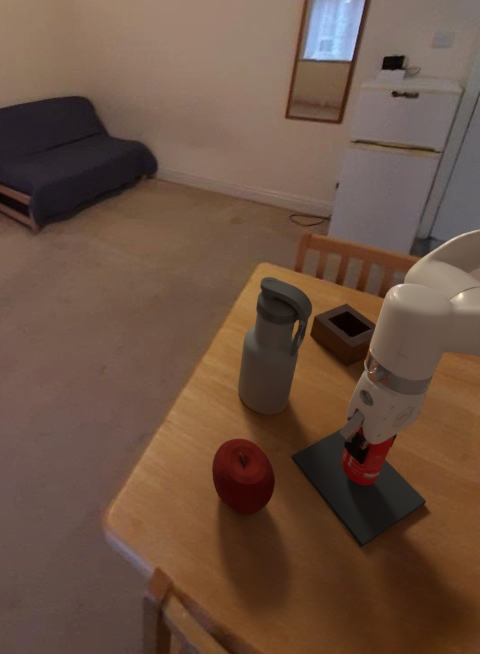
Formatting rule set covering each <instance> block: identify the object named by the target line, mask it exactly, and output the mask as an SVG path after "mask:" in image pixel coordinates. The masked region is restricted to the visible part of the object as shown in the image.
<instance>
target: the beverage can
mask: <svg viewBox="0 0 480 654" xmlns="http://www.w3.org/2000/svg"><path fill="white" fill-rule="evenodd" d="M357 432H358V433H359V434H360V435H361V436H362V437H363V438H364V433H363V431H362V430H361V429H359V430H358V431H357ZM393 440H394V436H392V437H391V438H389V439H387V440H385V441H383V442H382V443H379V444H370V443H369V444H368V446H369V448H370V450H369V452H368V455H367V458H366V460H365V463H364V464H362V465H361V464H360V463H359V462H358V461H357V460H356V459H355V458H353V457H352V456H351V455H350V454H349V453H348V451H347V449H346V448H345V450H344V453H343V456H342V460H341V461H342V466H343V470H344V472H345V474H346V475H347V477H348V478H349V479H350V480H351V481H353V482H354V483H356V484H358V485H361V486H368V485H370V484H373V483H374V482H375V481H376V480H377V477H378V475H379V473H380V470H381V468H382V466H383V463H384V461H385V460H386V459H387V456H388V454H389V452H390V450H391V448H392V447H391V445H392V442H393ZM394 441H395V440H394ZM392 446H393V445H392Z"/></svg>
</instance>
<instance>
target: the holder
mask: <svg viewBox="0 0 480 654" xmlns="http://www.w3.org/2000/svg"><path fill="white" fill-rule="evenodd" d="M376 324H377V323H374V322H373V321H372V320H370V319H369V318H367V317H366V316H365V315H364V314H362V313H361V312H359V311H358V310H356V309H355V308H354V307H352V306H351V305H349V303H346V302H345V303H343V304H341V305H338V306H336V307H333V308H331V309H328V310H326V311H323V312H322V313H319V314H316V315H314V317H313V321H312V325H311V330H310V334H309V335H310V337H312V338H313V340H315V341H316V342H317V343H318V344H319V345H321V346H322V347H323V348H324V349H325V350H326V351H327V352H328V353H330V354H331V355H332V356H333V357H334V358H335V359H337V360H338V361H339V362H340V363H341V364H342V365H343V366H344V367H345V368H348V367H350V366H352V365H354V364H357V363H358V362H360V361H363V360H365V358H366V355H367V352H368V349H369V346H370V343H371V339H372V336H373V333H374V330H375V327H376Z"/></svg>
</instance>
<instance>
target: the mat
mask: <svg viewBox="0 0 480 654" xmlns="http://www.w3.org/2000/svg"><path fill="white" fill-rule="evenodd" d="M342 429H343V427H342V428H340V429H338V430H337V431H335V432H332V433H331V434H329V435H327V436H326V437H324V438H322V439H320V440H318V441H316V442H314V443H312V444H310V445H309V446H307V447H304V448H303V449H301V450H298V452H296V453H294V454H292V456H291V461H292V462H293V463H294V464H295V465H296V467H297V468H298V469H299V471H300V472H301V473H302V474H303V476H304V477H305V478H306V479H307V481H308V482H309V483H310V485H311V486H312V487H313V489H314V490H315V491H316V492H317V493H318V495H319V496H320V497H321V499H322V500H323V501H324V503H326V505H327V506H328V508H329V509H330V510H331V511H332V513H333V514H334V516H336V518H337V519H338V521H339V522H340V523H341V524H342V526H343V527H344V529H346V530H347V532H348V533H349V534H350V535H351V537H352V538H353V540H354V541H355V542H356V543H357V544H358V546H359V547H360V548H362V549H363V548H364V547H366V545H368V544H369V543H371V542H372V541H374V540H375V539H377V538H378V537H380V536H381V535H383V534H384V533H385V532H387V531H388V530H390V529H391V528H392V527H394V526H396V525H397V524H398V523H400V522H402V521H403V520H404V519H406V518H407V517H408V516H410V515H412V514H413V513H415V512H416V511H417V510H419V509H420V508H421V507H423V506H424V505H425V504H426V503H427V500H426V499H425V498H424V497H423V496H422V495H421V494H420V493H419V492H418V491H417V490H416V489H415V488H414V487H413V486H412V485H411V484H410V483H409V482H408V481H407V480H406V479H405V477H403V476H402V475H401V473H399V472H398V471H397V470H396V469H395V468H394V467H393V466H392V465H391V463H389V462H388V461H387V460H386V459H385V461H384V463H383V466H382V468H381V470H380V473H379V475H378V477H377V480H376V481H375V482H374V483H373V484H370V485H368V486H361V485H358V484H356V483H354V482H353V481H351V480H350V479H349V478H348V477H347V475H346V474H345V472H344V470H343V466H342V461H341V460H342V456H343V453H344V450H345V447H344V444H345V440H344V439H343V438H342V437H341V436H340V435H339V432H340V431H341V430H342Z"/></svg>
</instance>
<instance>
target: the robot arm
mask: <svg viewBox="0 0 480 654" xmlns="http://www.w3.org/2000/svg"><path fill="white" fill-rule="evenodd" d="M478 269H480V229H476V230H470V231H468V232H465V233H461V234H459V235H457V236H454V237H453V238H451V239H449V240H447V241H445V242H444V243H443V244H440V245H439V246H438V247H437V248H435V249H433V250H432V251H430V252H429V253H427V254H426V255H424V256H423V257H421V258H420V259H419V260H418V261H416V262H415V263H414V264H413V265H412V266H411V267H410V269H409V270H408V271H407V273H406V274H405V277H404V279H403V280H404V281H403V283H399V284H396V285H394V286H392V287H391V288H389V290H388V291H387V292H386V293H385V296H384V298H383V302H382V305H381V307H380V308H381V309H380V310H379V311H380V312H379V314H378V318H377V321H376V323H375V324H376V327H375V330H374V333H373V336H372V339H371V343H370V346H369V349H368V352H367V355H366V358H365V359H364V363H363V364H364V370H363V372H362V374H361V376H360V377H359V380H358V381H357V384H356V386H355V388H354V390H353V393H352V395H351V398H350V400H349V403H348V406H347V409H346V416H345V417H346V421H347V422H346V423H345V425H344V426H343V427H342V428H343V429H342V428H341V429H342V430H341V431H340V432H339V435H340V436H341V437H342V438H343V439H344V440H345V444H344V447H345V448H346V449H347V451H348V453H349V454H350V455H351V456H352V457H353V458H355V459H356V460H357V461H358V462H359V463H360V464H361V465H362V464H364V463H365V460H366V458H367V455H368V452H369V450H370V448H369V446H368V444H369V443H370V444H379V443H382V442H383V441H385V440H387V439H389V438H391V437H392V436H394V440H393V442H392V445H391V447H390V448H392V447H393V445H394V444H395V441H396V438H397V435H398V434H399V433H401V432H403V431H404V430H406V429H408V428H409V427H410V426H413V425H414V424H415V423H416V422H417V421H418V419H419V417H420V414H421V411H422V409H423V406H424V403H425V400H426V397H427V393H428V389H429V387H430V384H431V382H432V380H433V377H434V375H435V373H436V370H437V368H438V366H439V364H440V361H441V359H442V357H443V355H444V354H445V353H451V354H460V355H467V356H475V357H480V280H478V279H477V278H476V277H474V276H473V275H472V274H470V273H472V272H474V271H476V270H478ZM359 429H361V430H362V431H363V433H364V438H363V437H362V436H361V435H360V434H359V433H358V432H357V431H358V430H359Z"/></svg>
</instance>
